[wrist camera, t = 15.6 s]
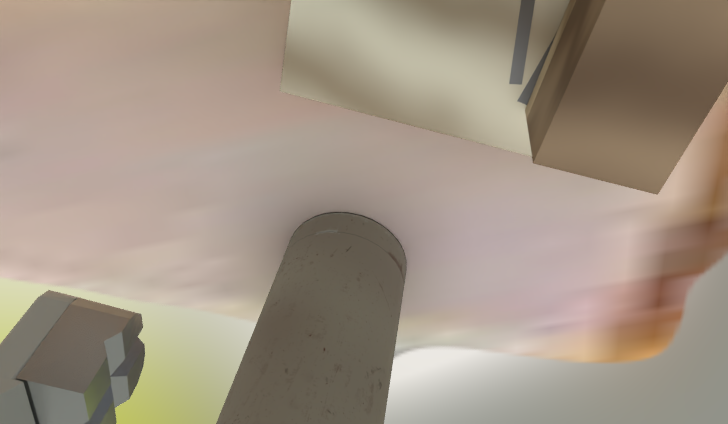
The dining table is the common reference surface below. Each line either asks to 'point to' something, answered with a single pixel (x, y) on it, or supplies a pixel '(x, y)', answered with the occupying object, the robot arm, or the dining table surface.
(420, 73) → the board
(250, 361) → the thermos bottle
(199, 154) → the dining table surface
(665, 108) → the block
